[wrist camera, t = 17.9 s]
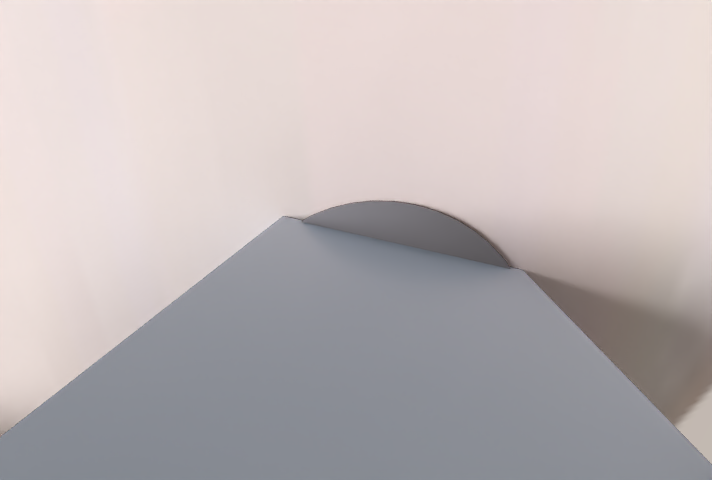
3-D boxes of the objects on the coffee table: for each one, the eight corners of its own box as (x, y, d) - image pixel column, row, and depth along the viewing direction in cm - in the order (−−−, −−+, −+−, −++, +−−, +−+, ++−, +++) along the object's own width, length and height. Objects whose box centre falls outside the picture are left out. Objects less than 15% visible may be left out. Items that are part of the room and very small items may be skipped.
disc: (340, 487, 14) (339, 492, 14) (182, 296, 12) (179, 299, 12) (580, 389, 12) (583, 394, 12) (434, 134, 10) (435, 134, 10)
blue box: (452, 453, 13) (561, 1010, 5) (256, 405, 13) (31, 862, 5) (522, 269, 11) (980, 741, 2) (282, 216, 11) (-54, 478, 3)
